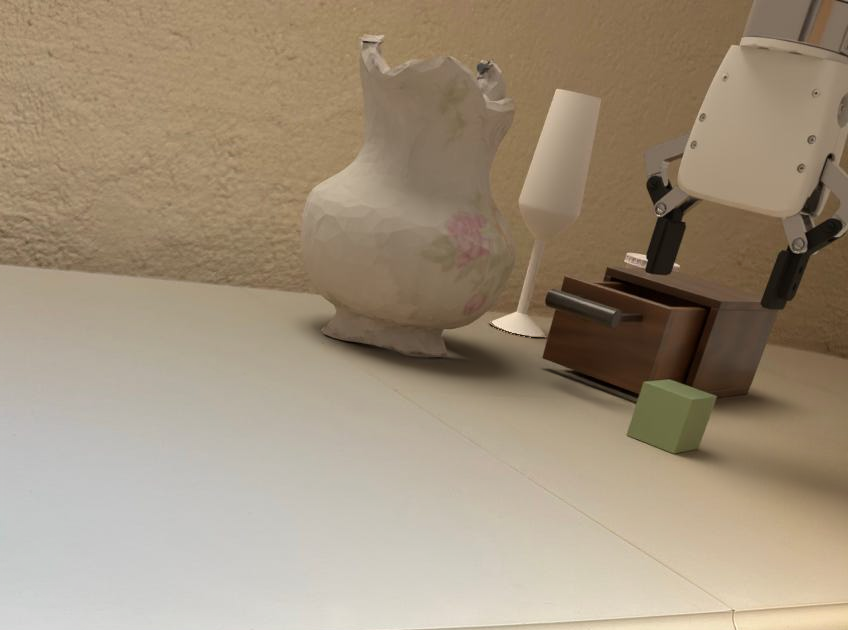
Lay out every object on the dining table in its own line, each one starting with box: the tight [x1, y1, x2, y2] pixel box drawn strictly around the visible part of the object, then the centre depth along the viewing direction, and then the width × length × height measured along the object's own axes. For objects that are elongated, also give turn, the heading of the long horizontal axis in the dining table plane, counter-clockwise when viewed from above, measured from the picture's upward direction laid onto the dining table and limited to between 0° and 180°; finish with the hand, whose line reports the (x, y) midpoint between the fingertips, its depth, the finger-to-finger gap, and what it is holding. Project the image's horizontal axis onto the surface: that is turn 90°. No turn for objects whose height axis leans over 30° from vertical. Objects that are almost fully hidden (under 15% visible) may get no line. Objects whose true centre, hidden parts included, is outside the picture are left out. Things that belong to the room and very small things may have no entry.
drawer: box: [541, 275, 711, 395], centre depth 99 cm, size 19×11×8 cm, turn 137°
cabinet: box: [602, 266, 780, 399], centre depth 107 cm, size 15×13×10 cm
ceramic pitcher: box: [299, 34, 517, 358], centre depth 94 cm, size 22×20×25 cm
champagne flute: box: [491, 88, 602, 336], centre depth 112 cm, size 7×7×24 cm
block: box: [626, 379, 718, 455], centre depth 83 cm, size 4×4×4 cm
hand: (712, 290), depth 79 cm, fingers open, 9 cm apart
